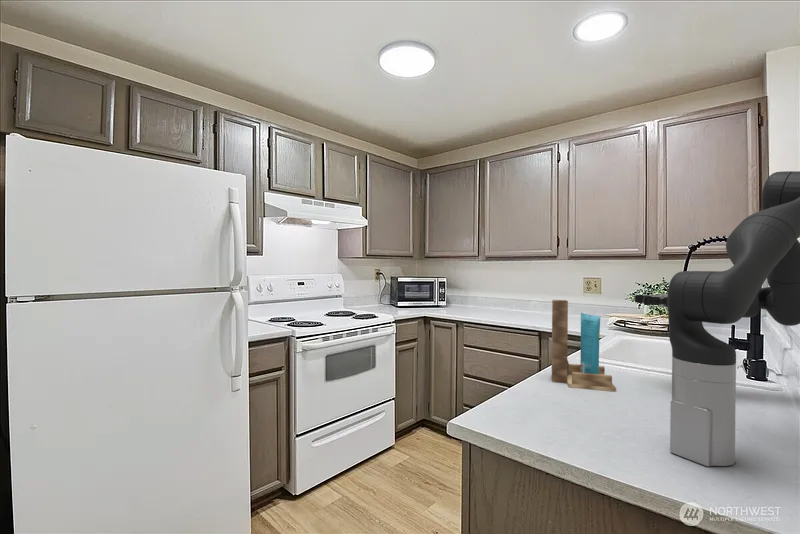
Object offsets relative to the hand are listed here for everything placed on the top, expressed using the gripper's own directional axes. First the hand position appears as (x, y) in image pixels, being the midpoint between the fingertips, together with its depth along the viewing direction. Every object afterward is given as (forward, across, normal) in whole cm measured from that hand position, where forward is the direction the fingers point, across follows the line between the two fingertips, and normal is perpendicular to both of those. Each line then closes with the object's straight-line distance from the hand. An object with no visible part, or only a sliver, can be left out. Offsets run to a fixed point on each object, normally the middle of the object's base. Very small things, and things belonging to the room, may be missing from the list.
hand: (639, 299), depth 111 cm
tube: (+12, -2, +24) cm, 27 cm away
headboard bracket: (+14, -2, +25) cm, 29 cm away
